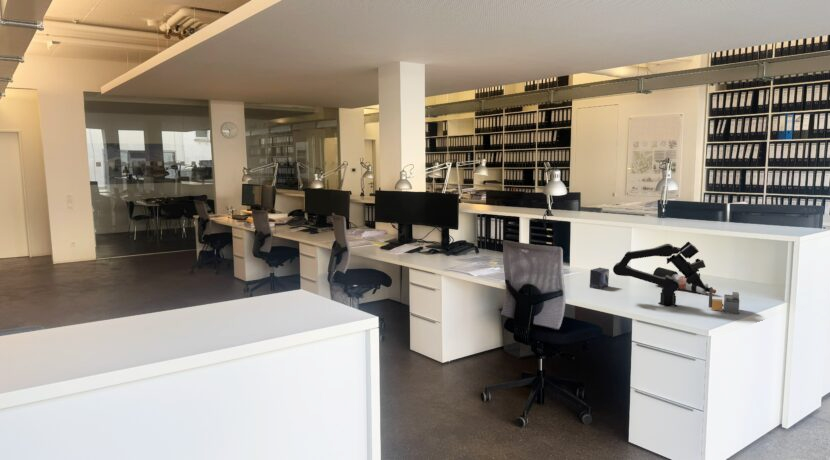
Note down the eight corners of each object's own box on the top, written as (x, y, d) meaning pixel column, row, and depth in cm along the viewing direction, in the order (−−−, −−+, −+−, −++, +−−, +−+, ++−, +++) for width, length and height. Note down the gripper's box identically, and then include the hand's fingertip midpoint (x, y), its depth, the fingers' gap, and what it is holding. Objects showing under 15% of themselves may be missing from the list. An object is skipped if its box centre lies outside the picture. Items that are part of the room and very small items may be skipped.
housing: (724, 312, 269) (726, 294, 268) (723, 307, 278) (724, 290, 277) (738, 314, 266) (739, 295, 265) (736, 309, 275) (738, 291, 274)
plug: (708, 309, 274) (709, 287, 273) (708, 307, 278) (709, 286, 277) (723, 310, 271) (724, 289, 270) (722, 308, 275) (724, 287, 274)
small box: (599, 289, 320) (599, 271, 318) (589, 287, 324) (589, 269, 323) (609, 286, 326) (609, 268, 325) (598, 284, 331) (599, 267, 330)
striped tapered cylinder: (711, 304, 302) (709, 289, 297) (653, 286, 328) (651, 273, 324) (720, 293, 306) (719, 279, 302) (662, 277, 332) (660, 263, 328)
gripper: (695, 257, 268) (720, 282, 264) (695, 251, 284) (718, 274, 281) (676, 271, 272) (700, 296, 269) (677, 265, 289) (699, 288, 285)
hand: (705, 288), depth 276 cm, fingers closed
